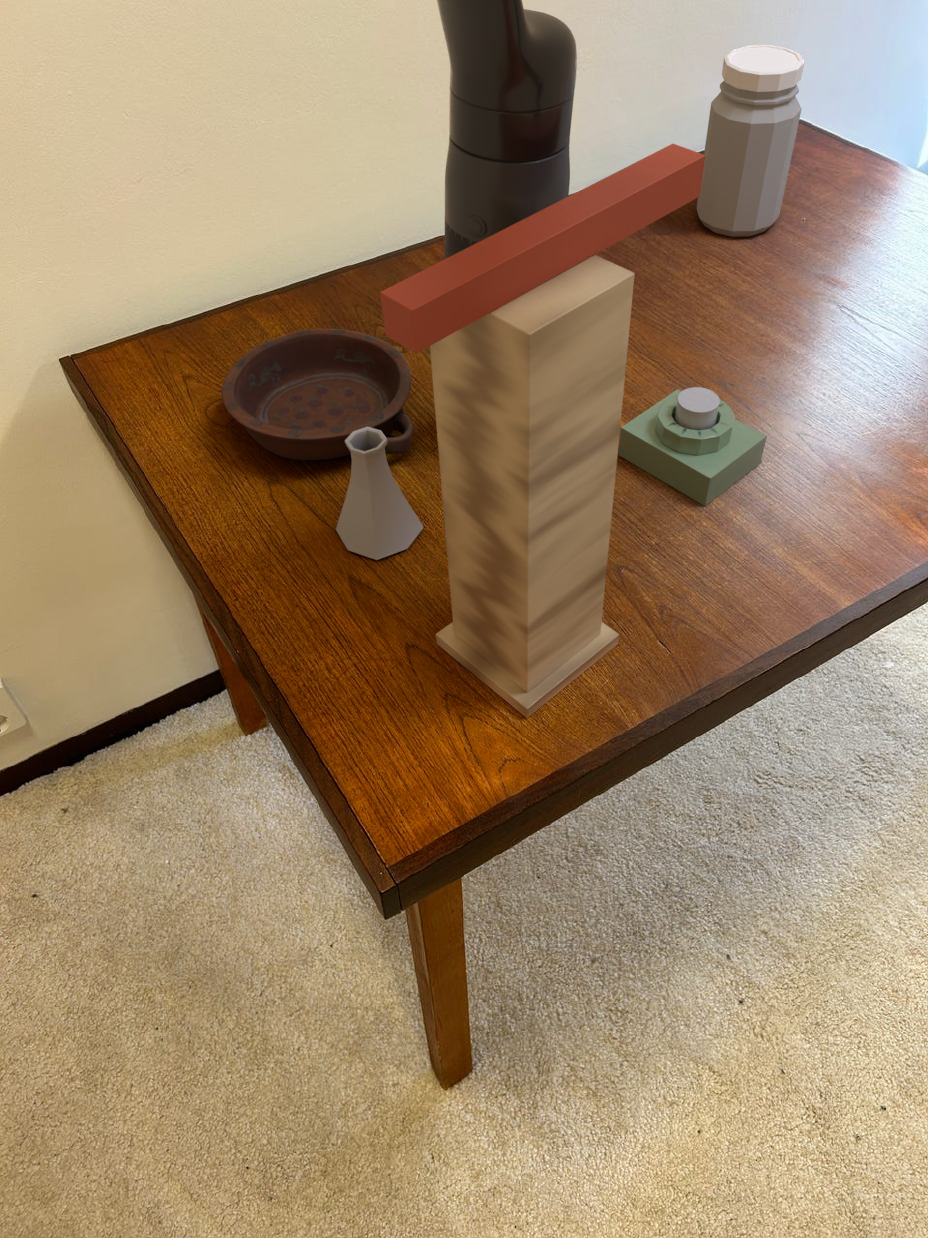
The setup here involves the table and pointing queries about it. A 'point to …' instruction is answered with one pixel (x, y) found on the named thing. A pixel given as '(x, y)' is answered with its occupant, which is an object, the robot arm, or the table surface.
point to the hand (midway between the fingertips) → (494, 421)
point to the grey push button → (697, 408)
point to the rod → (538, 248)
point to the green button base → (691, 450)
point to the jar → (750, 140)
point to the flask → (374, 501)
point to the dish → (320, 392)
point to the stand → (532, 479)
